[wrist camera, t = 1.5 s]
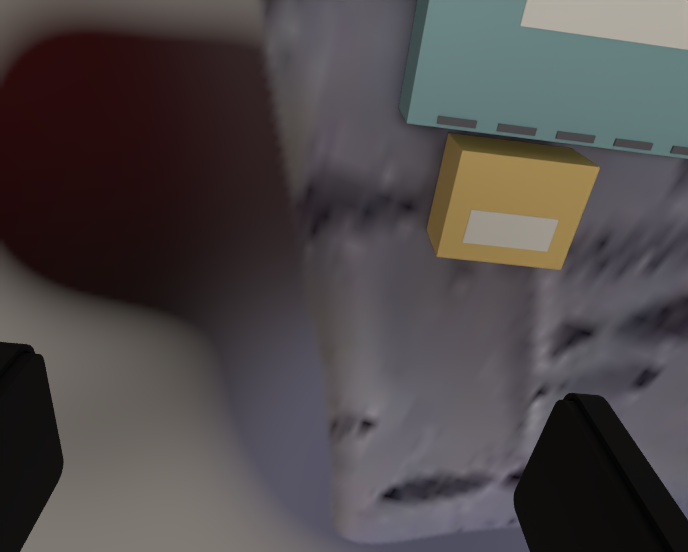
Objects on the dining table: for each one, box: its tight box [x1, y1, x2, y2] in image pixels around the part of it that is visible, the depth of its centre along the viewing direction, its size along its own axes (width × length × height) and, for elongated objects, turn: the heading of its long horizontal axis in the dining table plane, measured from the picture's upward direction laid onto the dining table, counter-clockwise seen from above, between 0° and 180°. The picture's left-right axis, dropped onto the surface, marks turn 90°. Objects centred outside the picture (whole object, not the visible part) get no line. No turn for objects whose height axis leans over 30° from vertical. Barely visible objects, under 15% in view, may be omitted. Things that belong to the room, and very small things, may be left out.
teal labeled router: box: [399, 0, 688, 159], centre depth 20 cm, size 14×8×3 cm, turn 83°
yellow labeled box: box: [427, 133, 600, 270], centre depth 24 cm, size 6×5×3 cm
